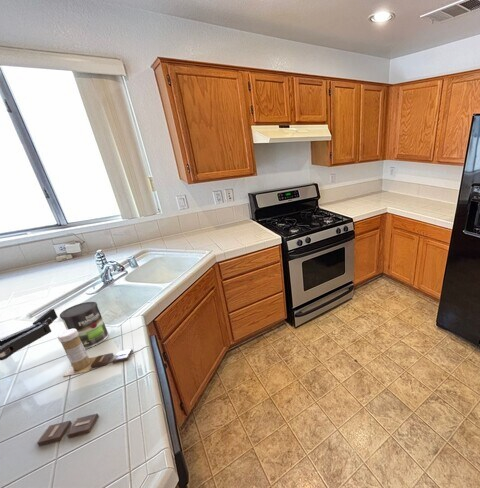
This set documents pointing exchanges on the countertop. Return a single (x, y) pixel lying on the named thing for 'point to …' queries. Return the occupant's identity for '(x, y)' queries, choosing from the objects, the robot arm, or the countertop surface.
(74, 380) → the countertop surface
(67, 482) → the countertop surface
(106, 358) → the chocolate bar
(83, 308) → the coffee can
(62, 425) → the brown chocolate squares
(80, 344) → the sprinkles bottle
